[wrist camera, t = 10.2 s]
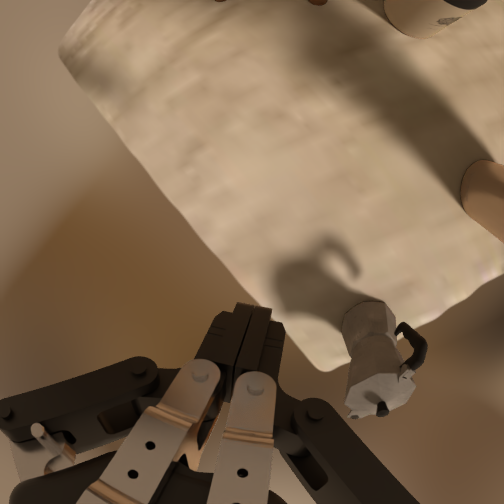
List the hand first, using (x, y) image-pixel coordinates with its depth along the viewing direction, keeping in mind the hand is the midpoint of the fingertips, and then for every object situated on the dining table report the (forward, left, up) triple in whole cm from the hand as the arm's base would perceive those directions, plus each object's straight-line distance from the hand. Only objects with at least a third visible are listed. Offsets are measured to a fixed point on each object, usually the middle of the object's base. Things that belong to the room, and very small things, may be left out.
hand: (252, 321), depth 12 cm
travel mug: (-13, -28, -27) cm, 41 cm away
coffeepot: (-16, +18, -27) cm, 36 cm away
